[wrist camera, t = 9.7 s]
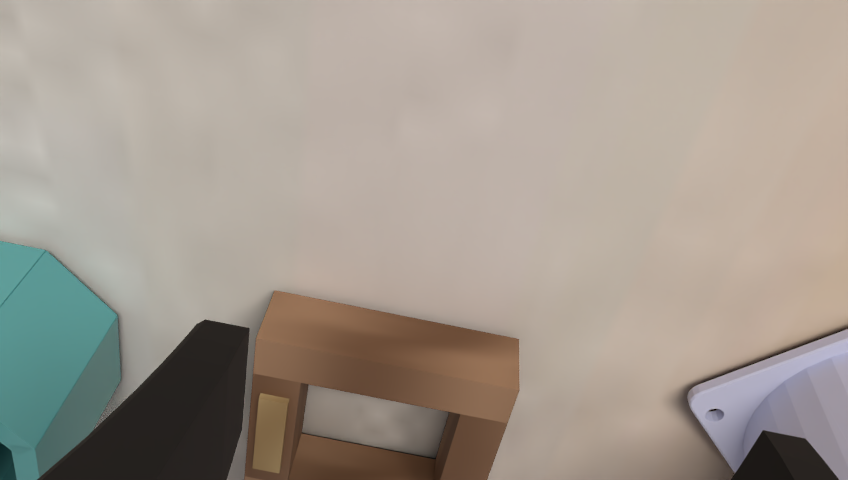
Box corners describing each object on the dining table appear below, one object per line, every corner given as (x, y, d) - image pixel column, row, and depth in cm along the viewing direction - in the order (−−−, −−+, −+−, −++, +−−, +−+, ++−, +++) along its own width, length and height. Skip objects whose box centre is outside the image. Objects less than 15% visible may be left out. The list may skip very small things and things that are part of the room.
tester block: (518, 339, 23) (519, 396, 21) (466, 491, 27) (463, 550, 25) (274, 290, 22) (253, 343, 21) (258, 451, 27) (240, 508, 25)
